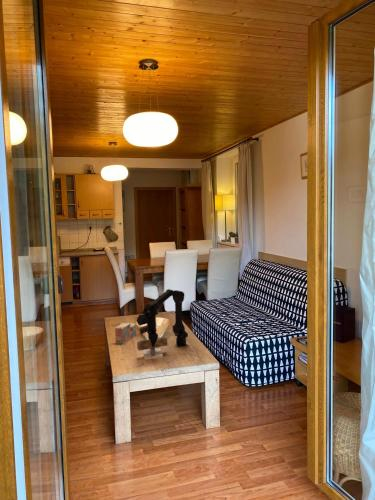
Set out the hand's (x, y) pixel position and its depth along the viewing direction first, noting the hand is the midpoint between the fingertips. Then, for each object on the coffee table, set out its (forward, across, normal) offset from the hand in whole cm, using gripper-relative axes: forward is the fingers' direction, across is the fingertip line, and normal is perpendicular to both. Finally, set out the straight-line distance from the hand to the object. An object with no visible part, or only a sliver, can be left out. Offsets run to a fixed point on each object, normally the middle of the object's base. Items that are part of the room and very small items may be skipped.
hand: (152, 344), depth 265 cm
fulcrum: (+7, 0, 0) cm, 7 cm away
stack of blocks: (+8, -36, -17) cm, 41 cm away
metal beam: (+2, 0, 0) cm, 2 cm away
